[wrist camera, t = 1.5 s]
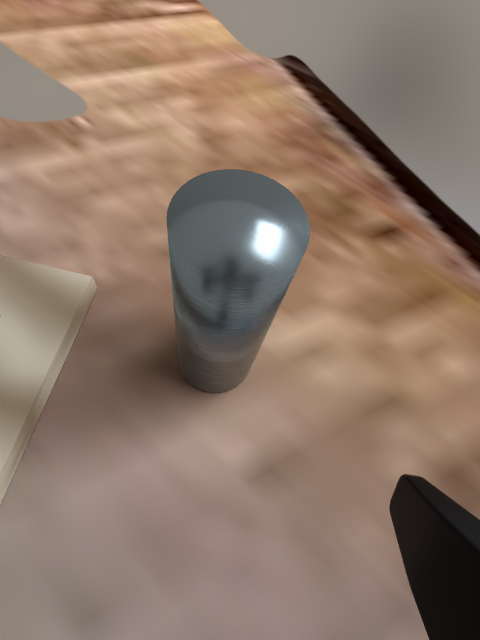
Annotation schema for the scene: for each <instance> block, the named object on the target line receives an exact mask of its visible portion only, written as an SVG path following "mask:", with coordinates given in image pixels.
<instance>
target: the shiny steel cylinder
mask: <svg viewBox="0 0 480 640" xmlns="http://www.w3.org/2000/svg"><path fill="white" fill-rule="evenodd" d="M167 230H168V242H169V254H170V266H171V278H172V290H173V302H174V314H175V326H176V339H177V351H178V363H179V367H180V370H181V372H182V374H183V376H184V378H185V379H186V380H187V381H188V382H189V383H190V384H191V385H192V386H194V387H195V388H197V389H199V390H201V391H204V392H208V393H222V392H226V391H229V390H231V389H233V388H235V387H237V386H238V385H239V384H240V383H241V382H242V381H243V380H244V379H245V378H246V376H247V374H248V372H249V370H250V368H251V366H252V364H253V361H254V359H255V357H256V355H257V353H258V351H259V349H260V347H261V344H262V342H263V340H264V338H265V336H266V334H267V332H268V330H269V327H270V325H271V323H272V321H273V319H274V317H275V315H276V313H277V310H278V308H279V306H280V304H281V302H282V300H283V298H284V296H285V293H286V291H287V289H288V287H289V285H290V283H291V281H292V279H293V276H294V274H295V272H296V270H297V268H298V266H299V264H300V262H301V259H302V257H303V255H304V253H305V251H306V248H307V246H308V243H309V238H310V225H309V220H308V217H307V214H306V212H305V210H304V208H303V206H302V205H301V203H300V202H299V200H298V199H297V198H296V197H295V196H294V195H293V194H292V193H291V192H290V191H289V190H288V189H287V188H285V187H284V186H283V185H281V184H280V183H278V182H276V181H275V180H273V179H271V178H269V177H266V176H264V175H261V174H258V173H254V172H250V171H245V170H236V169H226V170H216V171H211V172H208V173H204V174H201V175H199V176H197V177H195V178H193V179H191V180H189V181H188V182H187V183H185V184H184V185H183V186H182V187H181V188H180V189H179V190H178V191H177V192H176V193H175V195H174V196H173V198H172V200H171V202H170V204H169V207H168V211H167Z"/></svg>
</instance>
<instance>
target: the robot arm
mask: <svg viewBox="0 0 480 640" xmlns="http://www.w3.org/2000/svg"><path fill="white" fill-rule="evenodd" d="M390 515H391V518H392V522H393V526H394V529H395V533H396V537H397V541H398V544H399V548H400V552H401V555H402V559H403V563H404V567H405V570H406V574H407V577H408V581H409V584H410V587H411V590H412V593H413V596H414V599H415V602H416V604H417V607H418V610H419V613H420V615H421V618H422V621H423V623H424V626H425V629H426V632H427V634H428V637H429V640H480V520H479V519H478V518H476V517H475V516H474V515H472V514H471V513H470V512H468V511H467V510H466V509H464V508H463V507H462V506H460V505H459V504H458V503H456V502H455V501H454V500H452V499H451V498H449V497H448V496H447V495H445V494H444V493H443V492H441V491H440V490H439V489H437V488H436V487H435V486H433V485H432V484H431V483H429V482H428V481H427V480H425V479H424V478H422V477H420V476H415V475H408V474H404V475H402V476H401V477H400V478H399V480H398V483H397V485H396V488H395V491H394V493H393V496H392V498H391V501H390Z"/></svg>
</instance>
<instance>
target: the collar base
mask: <svg viewBox="0 0 480 640" xmlns="http://www.w3.org/2000/svg"><path fill="white" fill-rule="evenodd" d="M96 291H97V286H96V284H95V282H94V279H93V277H92V276H88V275H83V274H79V273H75V272H70V271H66V270H62V269H57V268H53V267H49V266H44V265H40V264H36V263H31V262H27V261H23V260H18V259H14V258H10V257H5V256H1V255H0V504H1V502H2V500H3V498H4V495H5V493H6V491H7V489H8V486H9V484H10V482H11V480H12V478H13V475H14V473H15V471H16V469H17V466H18V464H19V462H20V460H21V458H22V455H23V453H24V451H25V449H26V446H27V444H28V442H29V440H30V437H31V435H32V433H33V431H34V429H35V426H36V424H37V422H38V420H39V417H40V415H41V413H42V411H43V409H44V406H45V404H46V402H47V400H48V397H49V395H50V393H51V391H52V389H53V386H54V384H55V382H56V380H57V377H58V375H59V373H60V371H61V369H62V366H63V364H64V362H65V360H66V357H67V355H68V353H69V351H70V349H71V346H72V344H73V342H74V340H75V337H76V335H77V333H78V331H79V329H80V326H81V324H82V322H83V320H84V317H85V315H86V313H87V311H88V309H89V306H90V304H91V302H92V300H93V297H94V295H95V293H96Z"/></svg>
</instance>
